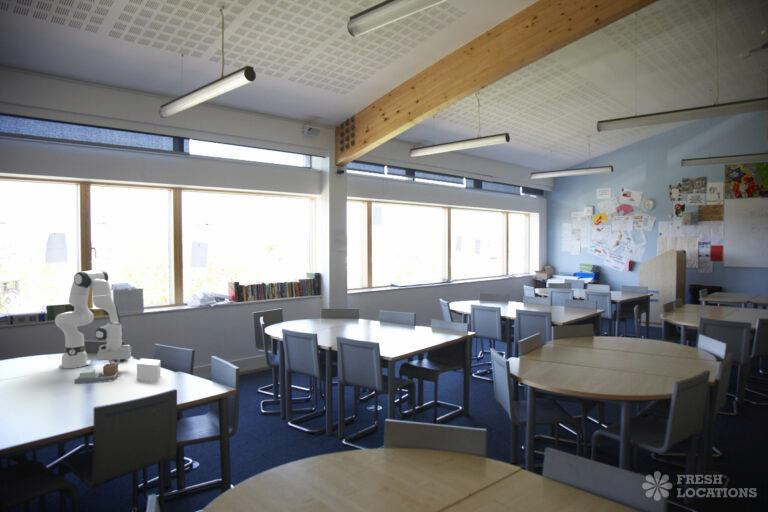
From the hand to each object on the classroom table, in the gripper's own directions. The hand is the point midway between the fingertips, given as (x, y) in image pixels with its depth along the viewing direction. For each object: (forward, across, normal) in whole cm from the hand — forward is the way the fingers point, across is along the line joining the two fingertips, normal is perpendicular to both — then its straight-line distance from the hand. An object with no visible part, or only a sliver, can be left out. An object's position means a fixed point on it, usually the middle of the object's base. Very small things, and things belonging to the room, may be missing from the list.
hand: (114, 365), depth 322 cm
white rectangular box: (+3, -25, +27) cm, 37 cm away
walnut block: (+3, 0, +7) cm, 8 cm away
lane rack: (+3, +5, +21) cm, 22 cm away
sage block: (+3, +10, +24) cm, 26 cm away
